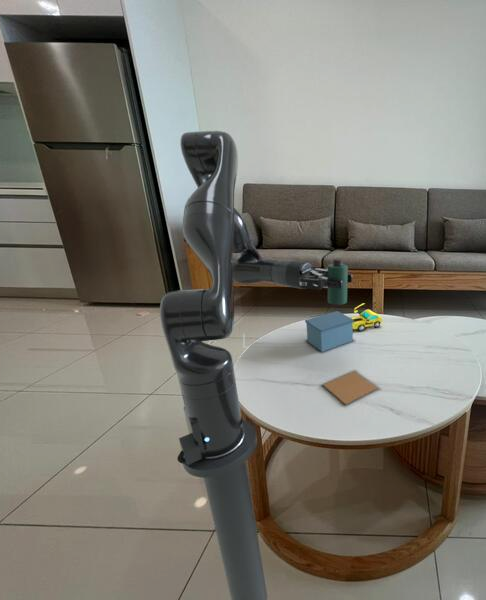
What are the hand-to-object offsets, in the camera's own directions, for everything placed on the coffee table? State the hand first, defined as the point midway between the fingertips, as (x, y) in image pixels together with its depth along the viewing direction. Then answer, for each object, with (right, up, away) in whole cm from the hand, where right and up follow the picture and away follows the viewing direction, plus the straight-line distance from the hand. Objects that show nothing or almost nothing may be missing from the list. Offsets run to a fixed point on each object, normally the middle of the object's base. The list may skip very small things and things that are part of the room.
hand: (346, 281), depth 84 cm
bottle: (-3, -5, +3) cm, 7 cm away
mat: (+1, -28, 0) cm, 28 cm away
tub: (-8, -19, +23) cm, 31 cm away
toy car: (+2, -15, +35) cm, 38 cm away
